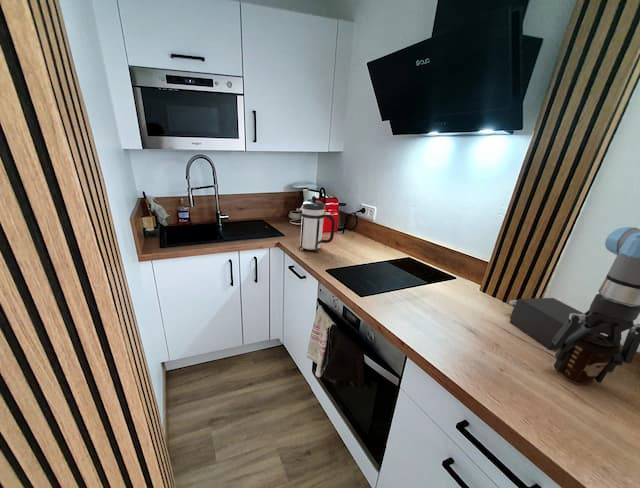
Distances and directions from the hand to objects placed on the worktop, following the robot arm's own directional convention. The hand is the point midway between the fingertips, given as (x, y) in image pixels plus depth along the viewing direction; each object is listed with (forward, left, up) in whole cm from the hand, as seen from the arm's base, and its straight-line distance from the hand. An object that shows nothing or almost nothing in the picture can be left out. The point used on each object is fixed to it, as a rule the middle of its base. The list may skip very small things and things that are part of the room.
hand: (576, 374), depth 76 cm
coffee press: (+95, -63, -1) cm, 115 cm away
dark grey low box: (0, -21, -1) cm, 21 cm away
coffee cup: (0, 0, -1) cm, 1 cm away
